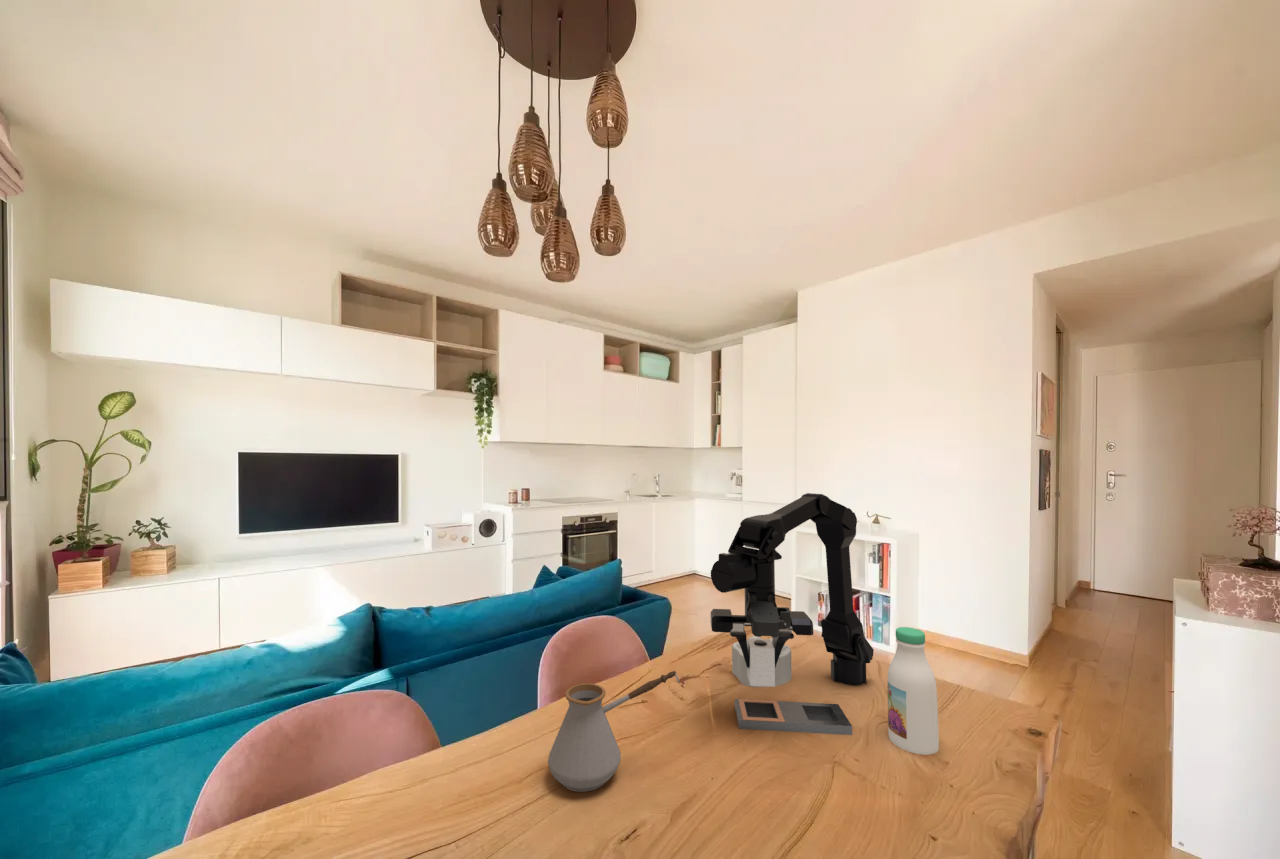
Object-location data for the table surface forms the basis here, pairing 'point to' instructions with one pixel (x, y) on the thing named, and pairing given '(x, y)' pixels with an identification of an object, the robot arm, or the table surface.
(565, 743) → the coffee pot
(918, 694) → the milk bottle
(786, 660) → the lumpy-topped squat cylinder
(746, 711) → the grey flat block
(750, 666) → the block
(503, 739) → the table surface
